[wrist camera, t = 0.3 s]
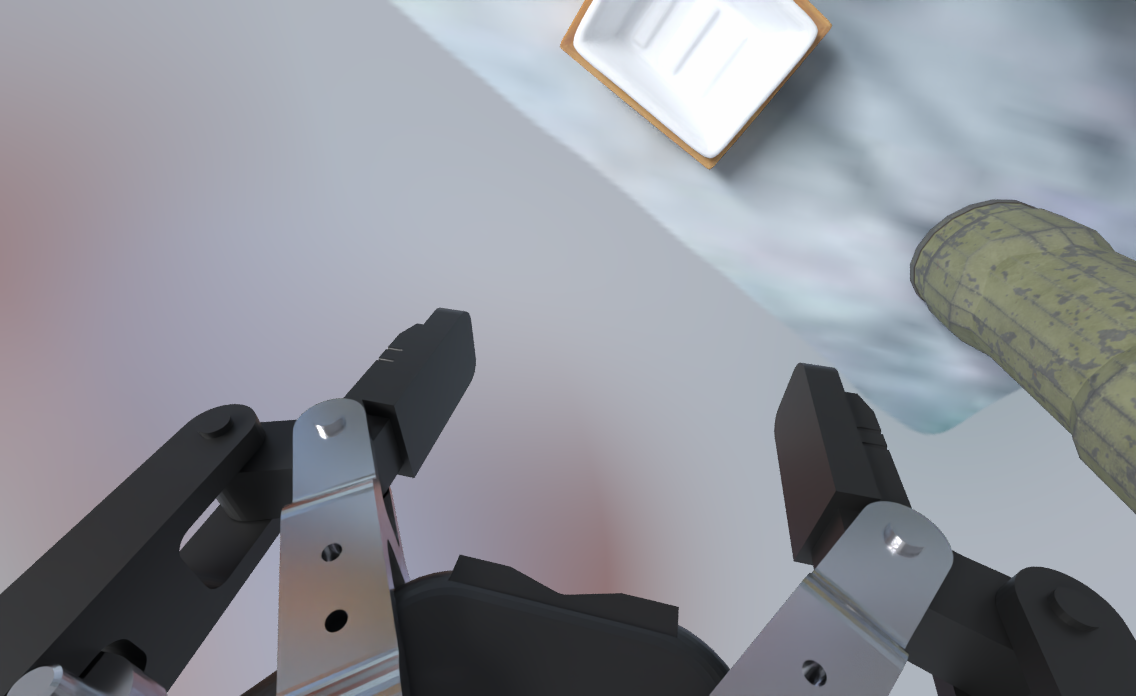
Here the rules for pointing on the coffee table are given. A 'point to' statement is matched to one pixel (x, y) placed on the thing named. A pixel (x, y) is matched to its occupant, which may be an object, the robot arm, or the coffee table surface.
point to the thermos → (1044, 319)
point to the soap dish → (695, 61)
